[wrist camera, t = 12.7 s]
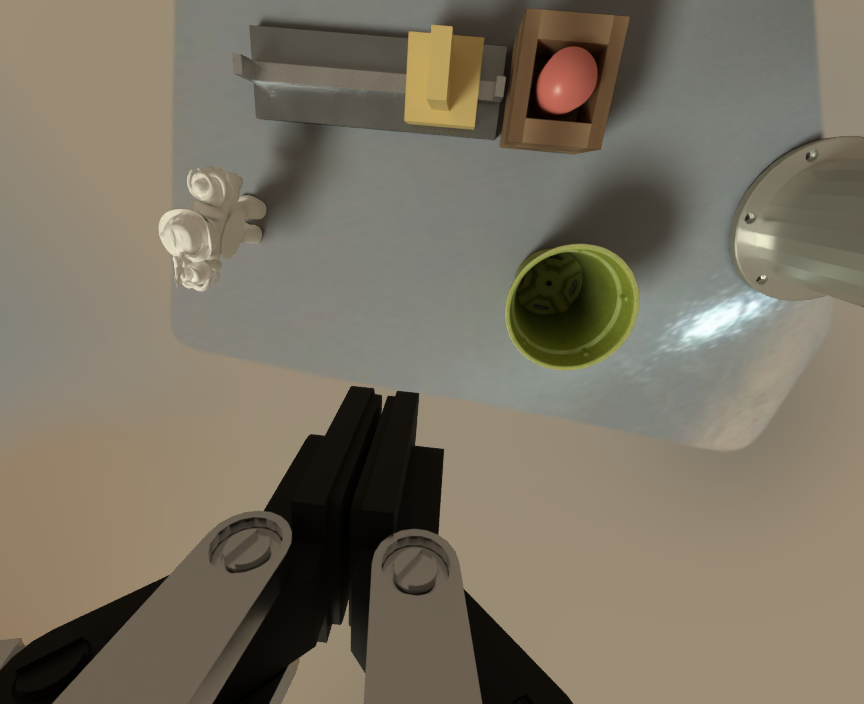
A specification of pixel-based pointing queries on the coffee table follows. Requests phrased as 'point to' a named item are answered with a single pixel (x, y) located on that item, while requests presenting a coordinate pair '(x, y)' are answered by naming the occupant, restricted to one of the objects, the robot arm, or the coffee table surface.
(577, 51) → the plunger
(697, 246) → the coffee table surface
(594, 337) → the plant pot
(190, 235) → the flower shoulder figurine
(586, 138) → the wooden box
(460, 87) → the carriage
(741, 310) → the coffee table surface
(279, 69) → the rail
